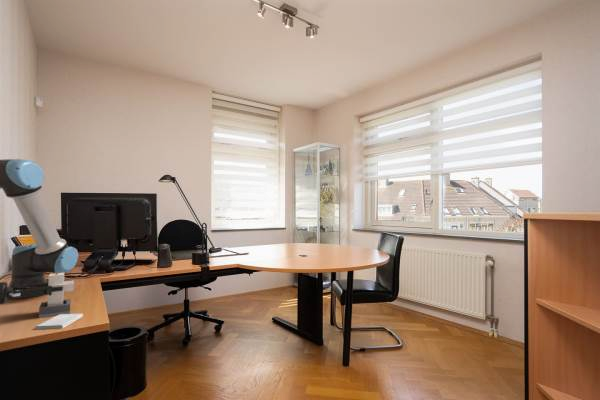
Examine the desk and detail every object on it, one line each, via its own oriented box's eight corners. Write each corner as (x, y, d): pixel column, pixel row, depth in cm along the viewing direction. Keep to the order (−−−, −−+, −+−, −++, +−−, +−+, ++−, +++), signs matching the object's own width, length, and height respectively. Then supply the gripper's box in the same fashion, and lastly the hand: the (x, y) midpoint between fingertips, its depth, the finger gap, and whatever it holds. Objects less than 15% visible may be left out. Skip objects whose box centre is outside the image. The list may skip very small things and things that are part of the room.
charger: (48, 305, 119) (49, 273, 119) (63, 303, 121) (64, 271, 122) (47, 308, 115) (48, 275, 116) (62, 306, 118) (63, 273, 118)
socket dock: (41, 311, 119) (41, 302, 119) (70, 307, 124) (70, 298, 124) (38, 318, 112) (39, 308, 112) (69, 313, 117) (70, 304, 117)
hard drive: (62, 325, 102) (83, 313, 114) (34, 326, 101) (58, 313, 113) (62, 330, 102) (82, 317, 114) (34, 331, 101) (58, 318, 113)
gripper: (-5, 299, 115) (73, 290, 128) (-16, 311, 101) (73, 300, 114) (-4, 279, 115) (74, 272, 129) (-15, 288, 101) (73, 279, 115)
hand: (73, 285), depth 122 cm, fingers closed on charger, 4 cm apart
